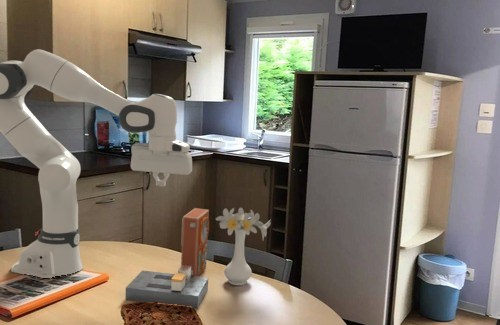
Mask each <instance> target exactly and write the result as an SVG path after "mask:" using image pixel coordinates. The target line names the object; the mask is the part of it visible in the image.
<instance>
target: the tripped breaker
mask: <svg viewBox="0 0 500 325" xmlns="http://www.w3.org/2000/svg"><path fill="white" fill-rule="evenodd" d="M174 274H175V275H174V276H173V277H172V279H171V281H172V283H171V290H174V291H182V289H183V288H184V286H185V277H186V274H179V273H178V272H175V273H174Z"/></svg>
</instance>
